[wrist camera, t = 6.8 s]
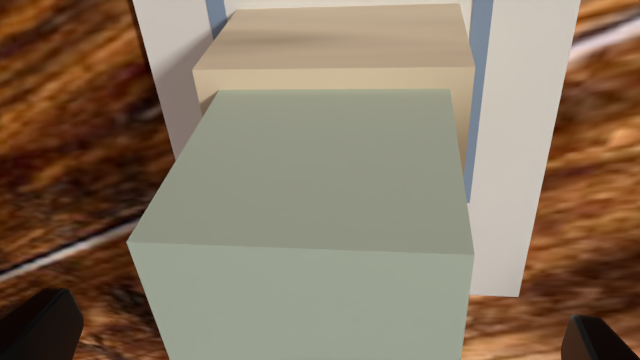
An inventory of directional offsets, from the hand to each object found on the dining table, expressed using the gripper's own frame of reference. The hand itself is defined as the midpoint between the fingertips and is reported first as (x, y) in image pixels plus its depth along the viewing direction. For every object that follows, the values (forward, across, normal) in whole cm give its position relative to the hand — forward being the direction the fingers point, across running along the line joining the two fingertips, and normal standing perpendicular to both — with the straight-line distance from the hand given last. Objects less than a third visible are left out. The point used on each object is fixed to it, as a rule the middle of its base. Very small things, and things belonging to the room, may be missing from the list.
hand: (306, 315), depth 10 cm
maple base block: (+8, 0, 0) cm, 8 cm away
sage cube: (+4, 0, 0) cm, 4 cm away
